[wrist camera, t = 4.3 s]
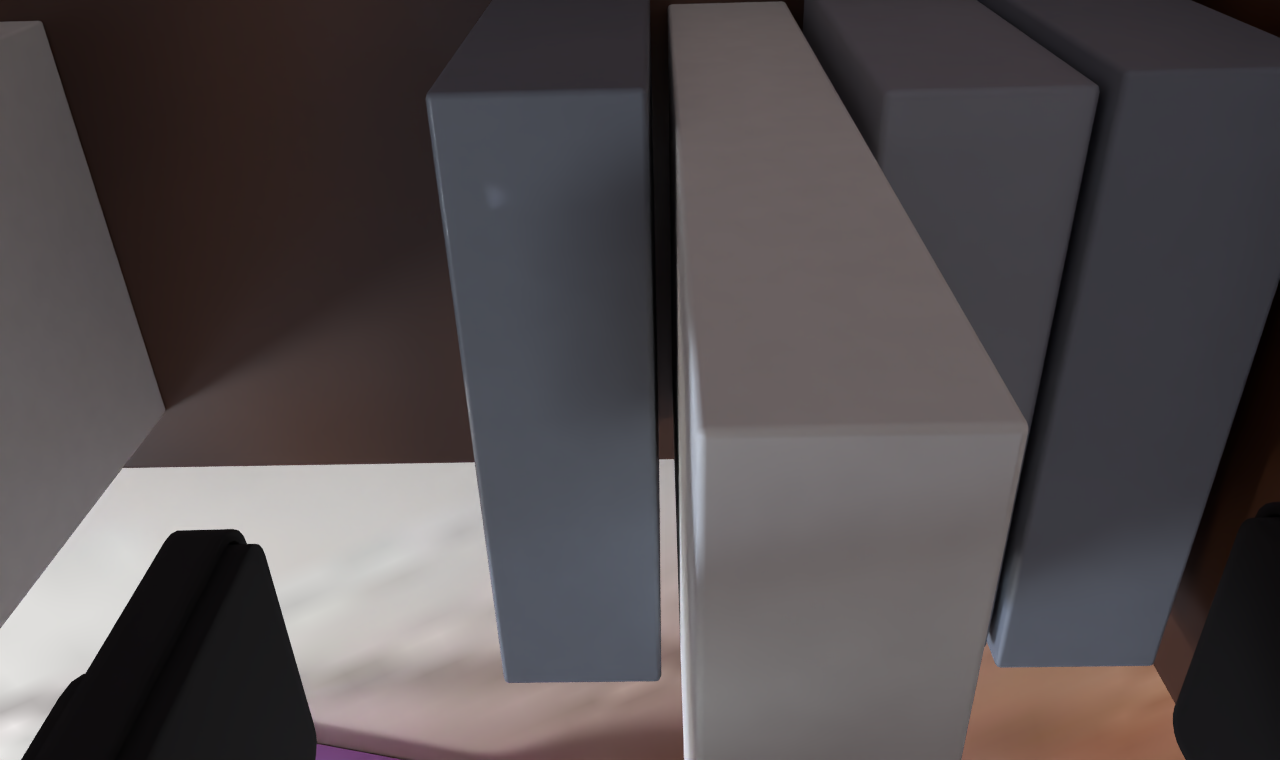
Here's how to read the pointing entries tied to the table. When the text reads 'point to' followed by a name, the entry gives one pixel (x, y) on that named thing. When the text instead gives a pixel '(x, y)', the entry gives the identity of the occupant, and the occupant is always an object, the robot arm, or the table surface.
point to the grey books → (958, 243)
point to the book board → (380, 240)
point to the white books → (57, 325)
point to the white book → (818, 422)
